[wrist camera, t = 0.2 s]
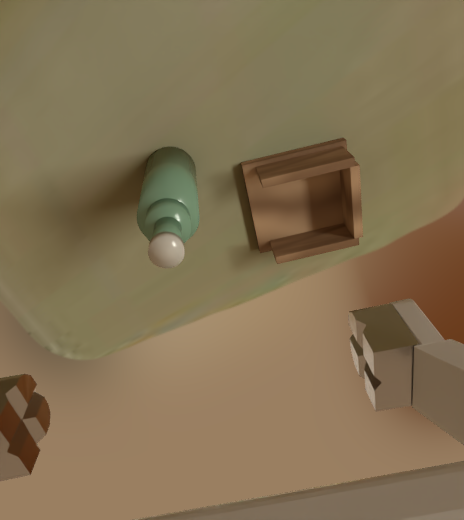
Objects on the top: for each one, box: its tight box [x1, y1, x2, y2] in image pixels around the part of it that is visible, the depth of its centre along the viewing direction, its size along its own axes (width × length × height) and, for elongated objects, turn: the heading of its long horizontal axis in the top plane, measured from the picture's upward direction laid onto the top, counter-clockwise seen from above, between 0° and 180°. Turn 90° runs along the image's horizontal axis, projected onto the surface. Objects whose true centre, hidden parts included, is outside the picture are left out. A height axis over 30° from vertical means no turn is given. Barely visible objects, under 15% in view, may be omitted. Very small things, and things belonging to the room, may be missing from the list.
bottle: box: [137, 147, 199, 268], centre depth 41 cm, size 6×6×18 cm
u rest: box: [241, 138, 363, 264], centre depth 49 cm, size 12×12×5 cm
